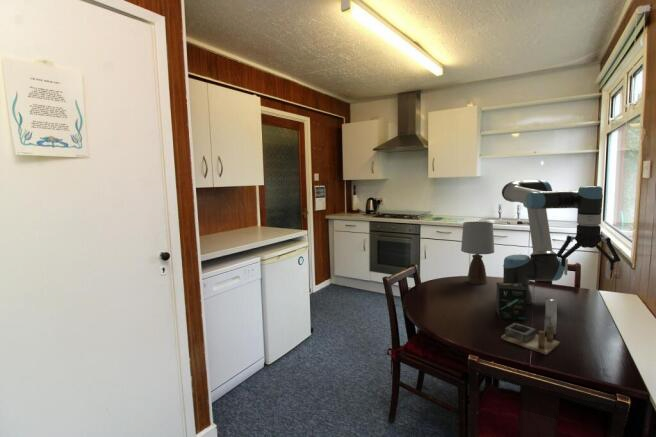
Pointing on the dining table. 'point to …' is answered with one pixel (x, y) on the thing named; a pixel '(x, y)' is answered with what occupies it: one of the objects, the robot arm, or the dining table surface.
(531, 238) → the robot arm
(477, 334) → the dining table surface
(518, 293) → the tampon box
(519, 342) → the beige peg board
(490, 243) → the lamp
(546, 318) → the pin
